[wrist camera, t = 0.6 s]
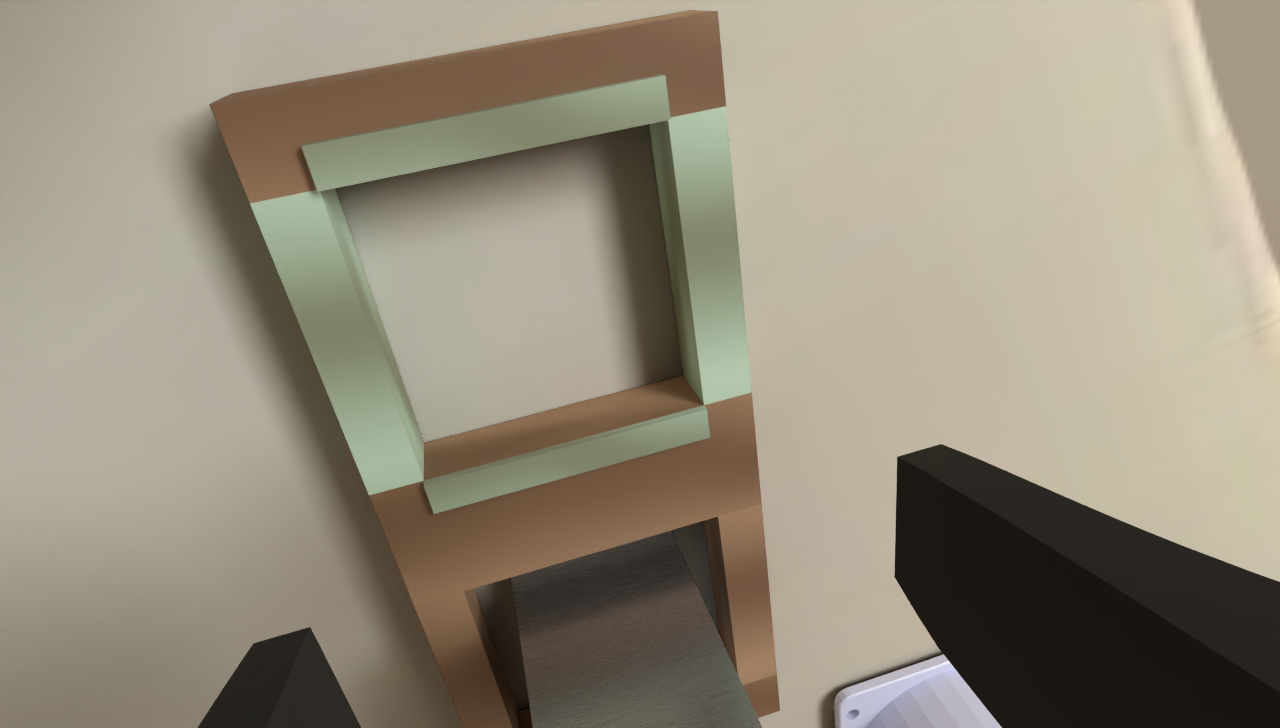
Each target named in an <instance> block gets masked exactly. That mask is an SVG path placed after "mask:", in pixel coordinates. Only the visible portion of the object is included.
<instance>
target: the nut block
mask: <svg viewBox="0 0 1280 728" xmlns="http://www.w3.org/2000/svg"><path fill="white" fill-rule="evenodd" d="M511 581H512V588H513V595H514V601H515V608H516V615H517V622H518V629H519V636H520V643H521V650H522V657H523V664H524V671H525V677H526V684H527V691H528V698H529V705H530V712H531V719H532V726H533V728H762V726H761V724H760V722H759V720H758V718H757V716H756V713H755V711H754V709H753V707H752V705H751V702H750V700H749V698H748V696H747V694H746V692H745V689H744V687H743V685H742V683H741V681H740V679H739V676H738V674H737V672H736V670H735V668H734V665H733V663H732V661H731V659H730V657H729V655H728V652H727V650H726V648H725V646H724V644H723V642H722V639H721V637H720V635H719V633H718V631H717V628H716V626H715V624H714V622H713V620H712V618H711V615H710V613H709V611H708V609H707V607H706V605H705V602H704V600H703V598H702V596H701V594H700V591H699V589H698V587H697V585H696V583H695V581H694V578H693V576H692V574H691V572H690V570H689V568H688V565H687V563H686V561H685V559H684V557H683V554H682V552H681V550H680V548H679V546H678V544H677V541H676V539H675V537H674V535H673V533H672V531H667V532H664V533H660V534H657V535H654V536H650V537H647V538H643V539H640V540H637V541H633V542H630V543H626V544H623V545H620V546H616V547H613V548H609V549H606V550H603V551H599V552H596V553H593V554H589V555H586V556H582V557H579V558H576V559H572V560H569V561H565V562H562V563H559V564H555V565H552V566H548V567H545V568H542V569H538V570H535V571H531V572H528V573H525V574H521V575H518V576H514V577H511Z"/></svg>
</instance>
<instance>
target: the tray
mask: <svg viewBox="0 0 1280 728" xmlns="http://www.w3.org/2000/svg"><path fill="white" fill-rule="evenodd" d="M209 105H210V107H211V110H212V112H213V115H214V117H215V119H216V122H217V124H218V127H219V129H220V132H221V134H222V137H223V139H224V141H225V144H226V146H227V149H228V151H229V154H230V156H231V159H232V161H233V164H234V166H235V168H236V171H237V173H238V176H239V178H240V181H241V183H242V186H243V188H244V190H245V193H246V195H247V198H248V200H249V203H250V205H251V208H252V210H253V213H254V215H255V217H256V220H257V222H258V225H259V227H260V230H261V232H262V235H263V237H264V239H265V242H266V244H267V247H268V249H269V252H270V254H271V257H272V259H273V262H274V264H275V266H276V269H277V271H278V274H279V276H280V279H281V281H282V284H283V286H284V288H285V291H286V293H287V296H288V298H289V301H290V303H291V306H292V308H293V311H294V313H295V315H296V318H297V320H298V323H299V325H300V328H301V330H302V333H303V335H304V337H305V340H306V342H307V345H308V347H309V350H310V352H311V355H312V357H313V360H314V362H315V364H316V367H317V369H318V372H319V374H320V377H321V379H322V382H323V384H324V387H325V389H326V391H327V394H328V396H329V399H330V401H331V404H332V406H333V409H334V411H335V413H336V416H337V418H338V421H339V423H340V426H341V428H342V431H343V433H344V436H345V438H346V440H347V443H348V445H349V448H350V450H351V453H352V455H353V458H354V460H355V462H356V465H357V467H358V470H359V472H360V475H361V477H362V480H363V482H364V485H365V487H366V489H367V492H368V494H369V497H370V499H371V502H372V504H373V507H374V509H375V511H376V514H377V516H378V519H379V521H380V524H381V526H382V529H383V531H384V534H385V536H386V538H387V541H388V543H389V546H390V548H391V551H392V553H393V556H394V558H395V560H396V563H397V565H398V568H399V570H400V573H401V575H402V578H403V580H404V583H405V585H406V587H407V590H408V592H409V595H410V597H411V600H412V602H413V605H414V607H415V609H416V612H417V614H418V617H419V619H420V622H421V624H422V627H423V629H424V632H425V634H426V636H427V639H428V641H429V644H430V646H431V649H432V651H433V654H434V656H435V658H436V661H437V663H438V666H439V668H440V671H441V673H442V676H443V678H444V681H445V683H446V685H447V688H448V690H449V693H450V695H451V698H452V700H453V703H454V705H455V707H456V710H457V712H458V715H459V717H460V720H461V722H462V725H463V727H464V728H533V726H532V719H531V712H530V708H527V709H524V710H521V711H517V708H516V706H515V703H514V700H513V697H512V694H511V691H510V688H509V686H508V683H507V680H506V677H505V674H504V671H503V668H502V665H501V663H500V660H499V657H498V654H497V651H496V648H495V645H494V642H493V640H492V637H491V634H490V631H489V628H488V625H487V622H486V620H485V617H484V614H483V611H482V608H481V605H480V602H479V599H478V597H477V594H476V591H475V588H477V587H481V586H484V585H487V584H491V583H494V582H498V581H501V580H504V579H508V578H511V577H514V576H518V575H521V574H525V573H528V572H531V571H535V570H538V569H542V568H545V567H548V566H552V565H555V564H559V563H562V562H565V561H569V560H572V559H576V558H579V557H582V556H586V555H589V554H593V553H596V552H599V551H603V550H606V549H609V548H613V547H616V546H620V545H623V544H626V543H630V542H633V541H637V540H640V539H643V538H647V537H650V536H654V535H657V534H660V533H664V532H667V531H671V530H674V529H677V528H681V527H684V526H688V525H691V524H694V523H698V522H701V521H704V526H705V533H706V540H707V547H708V555H709V562H710V569H711V576H712V584H713V591H714V598H715V605H716V612H717V620H718V627H719V634H720V637H721V639H722V642H723V644H724V646H725V648H726V650H727V652H728V655H729V657H730V659H731V661H732V663H733V665H734V668H735V670H736V672H737V674H738V676H739V679H740V681H741V683H742V685H743V687H744V689H745V692H746V694H747V696H748V698H749V700H750V702H751V705H752V707H753V709H754V711H755V713H756V716H757V718H759V717H762V716H765V715H768V714H771V713H774V712H777V711H780V706H779V694H778V683H777V672H776V661H775V649H774V638H773V627H772V616H771V605H770V593H769V582H768V571H767V560H766V549H765V537H764V526H763V515H762V504H761V492H760V481H759V470H758V459H757V448H756V436H755V425H754V414H753V403H752V392H751V380H750V369H749V358H748V347H747V335H746V324H745V313H744V302H743V291H742V279H741V268H740V257H739V246H738V235H737V223H736V212H735V201H734V190H733V178H732V167H731V156H730V145H729V134H728V122H727V111H726V100H725V89H724V78H723V66H722V55H721V44H720V33H719V21H718V11H696V10H690V11H684V12H679V13H673V14H668V15H662V16H657V17H651V18H646V19H640V20H635V21H629V22H624V23H618V24H613V25H607V26H602V27H596V28H591V29H585V30H580V31H574V32H568V33H563V34H557V35H552V36H546V37H541V38H535V39H530V40H524V41H519V42H513V43H508V44H502V45H497V46H491V47H486V48H480V49H475V50H469V51H464V52H458V53H453V54H447V55H442V56H436V57H431V58H425V59H420V60H414V61H409V62H403V63H398V64H392V65H387V66H381V67H376V68H370V69H365V70H359V71H354V72H348V73H343V74H337V75H332V76H326V77H321V78H315V79H310V80H304V81H299V82H293V83H288V84H282V85H277V86H271V87H266V88H260V89H255V90H249V91H244V92H238V93H233V94H230V95H228V96H226V97H224V98H222V99H220V100H217V101H215V102H213V103H211V104H209ZM647 124H649V128H650V136H651V143H652V150H653V157H654V164H655V172H656V179H657V186H658V193H659V201H660V208H661V215H662V222H663V229H664V237H665V244H666V251H667V258H668V266H669V273H670V280H671V287H672V294H673V302H674V309H675V316H676V323H677V331H678V338H679V345H680V352H681V360H682V367H683V374H684V375H683V376H679V377H675V378H671V379H667V380H664V381H660V382H656V383H652V384H648V385H645V386H641V387H637V388H633V389H629V390H625V391H622V392H618V393H614V394H610V395H606V396H602V397H599V398H595V399H591V400H587V401H583V402H580V403H576V404H572V405H568V406H564V407H560V408H557V409H553V410H549V411H545V412H541V413H537V414H534V415H530V416H526V417H522V418H518V419H515V420H511V421H507V422H503V423H499V424H495V425H492V426H488V427H484V428H480V429H476V430H472V431H469V432H465V433H461V434H457V435H453V436H449V437H446V438H442V439H438V440H434V441H430V442H427V443H424V442H423V439H422V436H421V433H420V430H419V427H418V424H417V422H416V419H415V416H414V413H413V410H412V407H411V404H410V401H409V399H408V396H407V393H406V390H405V387H404V384H403V381H402V378H401V376H400V373H399V370H398V367H397V364H396V361H395V358H394V356H393V353H392V350H391V347H390V344H389V341H388V338H387V335H386V333H385V330H384V327H383V324H382V321H381V318H380V315H379V312H378V310H377V307H376V304H375V301H374V298H373V295H372V292H371V289H370V287H369V284H368V281H367V278H366V275H365V272H364V269H363V267H362V264H361V261H360V258H359V255H358V252H357V249H356V246H355V244H354V241H353V238H352V235H351V232H350V229H349V226H348V223H347V221H346V218H345V215H344V212H343V209H342V206H341V203H340V201H339V198H338V195H337V192H336V189H335V188H339V187H344V186H349V185H354V184H359V183H364V182H369V181H373V180H378V179H383V178H388V177H393V176H398V175H403V174H408V173H413V172H417V171H422V170H427V169H432V168H437V167H442V166H447V165H452V164H456V163H461V162H466V161H471V160H476V159H481V158H486V157H491V156H496V155H500V154H505V153H510V152H515V151H520V150H525V149H530V148H535V147H539V146H544V145H549V144H554V143H559V142H564V141H569V140H574V139H579V138H583V137H588V136H593V135H598V134H603V133H608V132H613V131H618V130H622V129H627V128H632V127H637V126H642V125H647Z"/></svg>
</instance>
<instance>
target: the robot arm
mask: <svg viewBox="0 0 1280 728" xmlns="http://www.w3.org/2000/svg"><path fill="white" fill-rule="evenodd" d="M895 578H896V580H897V582H898V583H899V585H900V587H901V588H902V590H903V592H904V593H905V595H906V597H907V598H908V600H909V602H910V603H911V605H912V607H913V608H914V610H915V612H916V613H917V615H918V617H919V618H920V620H921V621H922V623H923V624H924V626H925V627H926V629H927V631H928V632H929V634H930V635H931V637H932V638H933V640H934V642H935V643H936V645H937V646H938V648H939V649H940V650H941V652H942V653H943V655H940V656H937V657H934V658H931V659H928V660H926V661H923V662H920V663H917V664H914V665H911V666H908V667H905V668H902V669H899V670H896V671H893V672H891V673H888V674H885V675H882V676H879V677H876V678H873V679H870V680H867V681H864V682H861V683H858V684H855V685H853V686H850V687H847V688H845V689H843V690H841V691H840V692H839V693H838V694H837V695H836V697H835V701H834V706H835V728H1280V582H1278V581H1275V580H1272V579H1270V578H1267V577H1264V576H1261V575H1258V574H1256V573H1253V572H1250V571H1248V570H1245V569H1242V568H1240V567H1237V566H1234V565H1232V564H1229V563H1226V562H1224V561H1221V560H1218V559H1216V558H1213V557H1210V556H1208V555H1205V554H1203V553H1200V552H1197V551H1195V550H1192V549H1189V548H1187V547H1184V546H1181V545H1179V544H1176V543H1174V542H1172V541H1169V540H1167V539H1164V538H1162V537H1159V536H1157V535H1154V534H1152V533H1149V532H1147V531H1144V530H1142V529H1139V528H1137V527H1134V526H1132V525H1130V524H1127V523H1125V522H1122V521H1120V520H1118V519H1115V518H1113V517H1111V516H1108V515H1106V514H1103V513H1101V512H1099V511H1096V510H1094V509H1092V508H1089V507H1087V506H1085V505H1082V504H1080V503H1078V502H1075V501H1073V500H1071V499H1069V498H1066V497H1064V496H1062V495H1059V494H1057V493H1055V492H1052V491H1050V490H1048V489H1046V488H1043V487H1041V486H1039V485H1037V484H1034V483H1032V482H1030V481H1027V480H1025V479H1023V478H1021V477H1018V476H1016V475H1014V474H1011V473H1009V472H1007V471H1005V470H1002V469H1000V468H998V467H995V466H993V465H991V464H988V463H986V462H984V461H981V460H979V459H977V458H974V457H972V456H970V455H967V454H965V453H962V452H960V451H957V450H955V449H952V448H949V447H947V446H944V445H941V444H940V445H937V446H933V447H930V448H926V449H923V450H919V451H916V452H913V453H909V454H906V455H902V456H899V457H897V499H896V543H895ZM198 728H361V727H360V725H359V723H358V721H357V719H356V717H355V715H354V713H353V711H352V709H351V707H350V705H349V703H348V701H347V699H346V697H345V695H344V693H343V691H342V689H341V687H340V685H339V683H338V681H337V679H336V677H335V675H334V673H333V671H332V669H331V667H330V665H329V663H328V661H327V659H326V657H325V655H324V653H323V651H322V649H321V647H320V645H319V643H318V641H317V640H316V638H315V636H314V634H313V632H312V630H311V628H310V627H309V628H305V629H302V630H299V631H295V632H292V633H288V634H285V635H281V636H278V637H274V638H271V639H267V640H264V641H261V642H257V643H254V644H253V645H252V647H251V648H250V649H249V651H248V652H247V654H246V655H245V657H244V658H243V660H242V661H241V663H240V664H239V666H238V667H237V669H236V670H235V672H234V673H233V675H232V676H231V678H230V679H229V681H228V682H227V684H226V685H225V687H224V688H223V690H222V691H221V693H220V694H219V696H218V697H217V699H216V700H215V702H214V703H213V705H212V707H211V708H210V710H209V711H208V713H207V714H206V716H205V717H204V719H203V720H202V722H201V723H200V725H199V726H198Z"/></svg>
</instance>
